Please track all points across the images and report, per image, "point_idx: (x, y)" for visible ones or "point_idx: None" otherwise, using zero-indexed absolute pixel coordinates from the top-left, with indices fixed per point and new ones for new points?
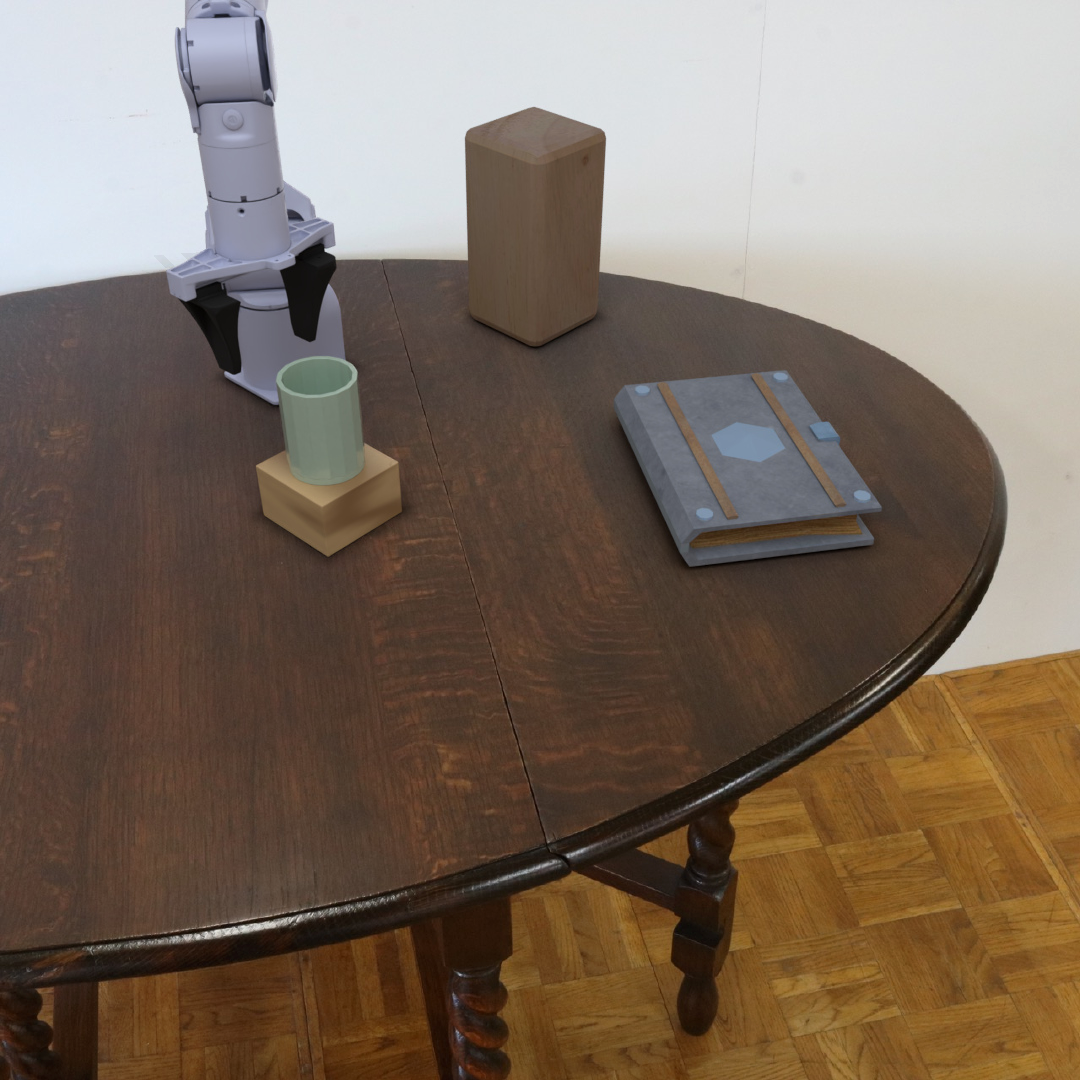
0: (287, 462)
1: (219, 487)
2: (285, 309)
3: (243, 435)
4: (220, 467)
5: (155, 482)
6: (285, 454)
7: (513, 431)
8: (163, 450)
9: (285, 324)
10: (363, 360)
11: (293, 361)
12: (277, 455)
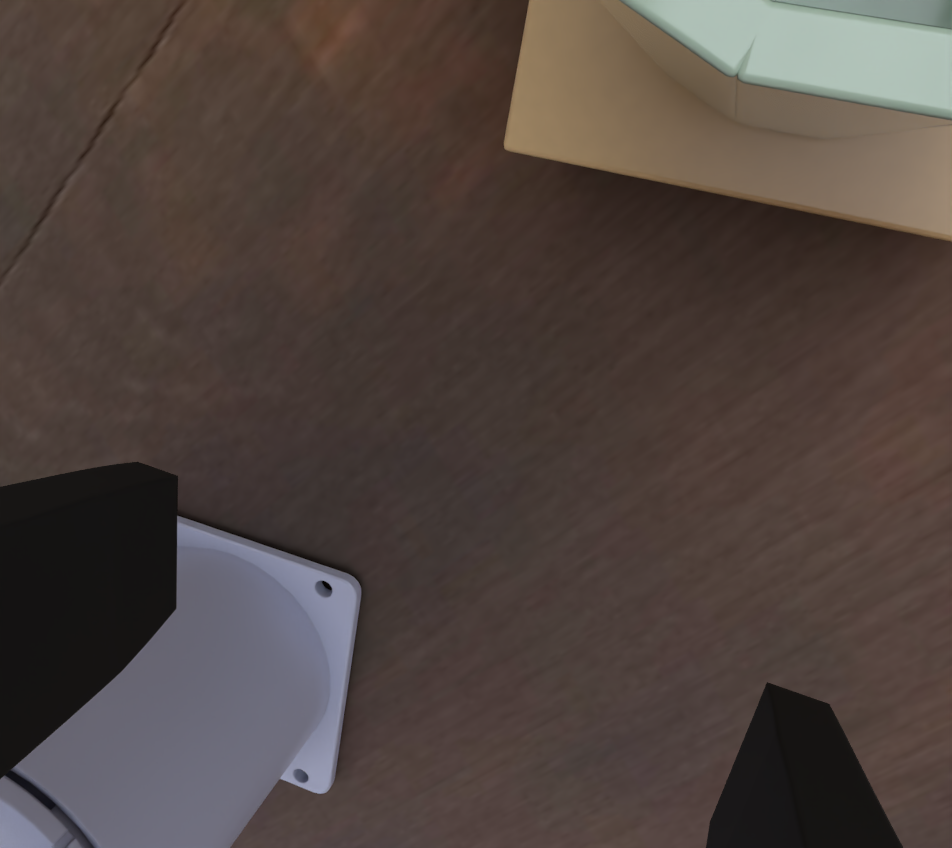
0: None
1: (853, 493)
2: (31, 778)
3: (540, 587)
4: (738, 556)
5: (926, 702)
6: (870, 183)
7: None
8: None
9: (94, 732)
10: None
11: (819, 87)
12: (904, 213)
